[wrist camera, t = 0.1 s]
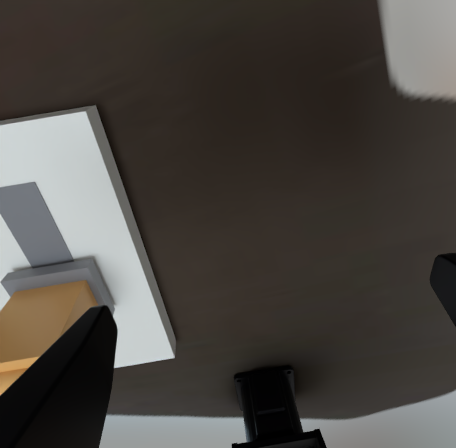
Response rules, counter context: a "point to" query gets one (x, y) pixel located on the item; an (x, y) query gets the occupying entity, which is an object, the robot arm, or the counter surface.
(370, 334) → the counter surface
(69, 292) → the toggle
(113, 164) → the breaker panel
